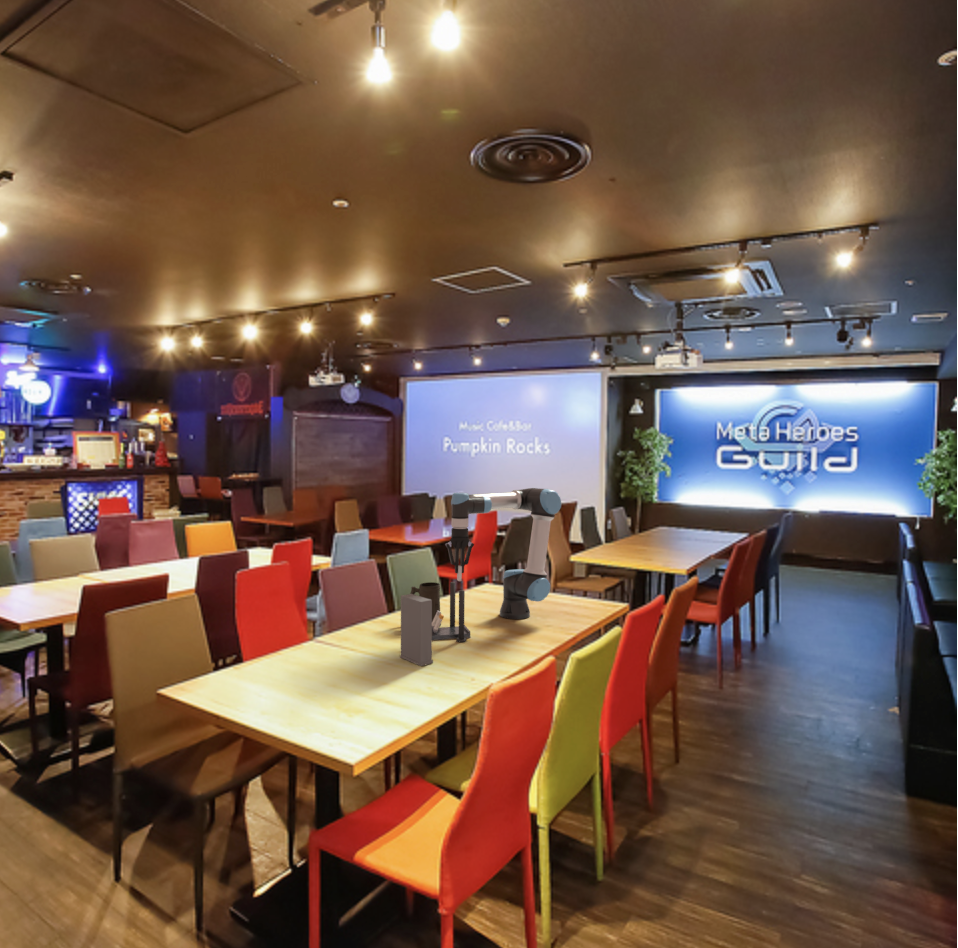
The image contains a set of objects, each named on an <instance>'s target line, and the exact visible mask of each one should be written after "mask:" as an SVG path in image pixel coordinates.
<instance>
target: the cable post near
mask: <svg viewBox="0 0 958 948" xmlns="http://www.w3.org/2000/svg"><path fill="white" fill-rule="evenodd" d="M465 592H466V591H465V590H463V589H460V590H458V626H459V638H457V639H455V640H456V641H455V642H457V643H460V644H463V643H466V642H467V638H464V625H465Z"/></svg>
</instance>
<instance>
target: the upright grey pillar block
mask: <svg viewBox="0 0 958 948" xmlns="http://www.w3.org/2000/svg"><path fill="white" fill-rule="evenodd" d="M432 642H433V640H432V600H430V599H427V598H424V597H420V596H419V595H417V594H410V593H409V594H402V595H400V655H399V656H400V658H401V659H404V660H406V661H408V662H410V663H413V664H415V665H417V666H419V667H423V666H426V665H431V664H434V660H433V650H432V647H433V644H432Z"/></svg>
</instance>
